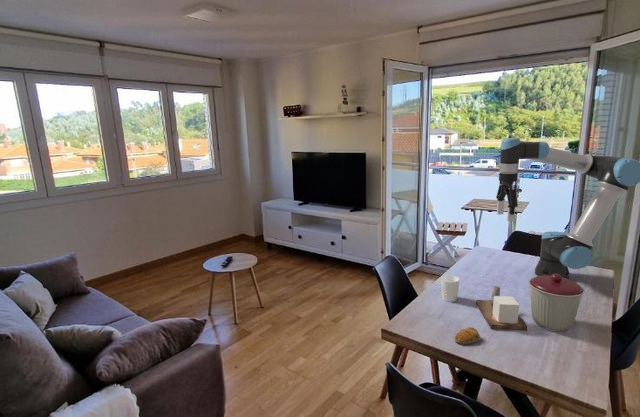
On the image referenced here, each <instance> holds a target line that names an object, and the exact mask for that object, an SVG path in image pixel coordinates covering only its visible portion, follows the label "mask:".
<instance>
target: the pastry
mask: <svg viewBox="0 0 640 417" xmlns="http://www.w3.org/2000/svg"><path fill="white" fill-rule="evenodd" d="M480 335H481V334H480V333H479V331H478V329H476V328H475V327H472V326H468V327H465V328H463V329H460V330H459V331H458V332H457V333H456V334H455V336H454V338H455V342H456V343H458V344H461V345H463V346H464V345H472V344H474V343H477V342H479V341H480V340H481V338H482V337H481V336H480Z"/></svg>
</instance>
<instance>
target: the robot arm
mask: <svg viewBox="0 0 640 417" xmlns="http://www.w3.org/2000/svg"><path fill="white" fill-rule="evenodd" d="M499 157H500V158H499V159H500V161H499V165H498V168H499V174H498V181H499V186H498V189H497V192H496V195H495V196H496V197H495V199H496V200H497V209H496V214H497V215H504V213H505V212H504V210H505V209H504V208H505V201H506V198H507V203H508V205H507V217H506V221H507V222H515V214H516V208H518V206H519V205H518V197H517V194H518V193H517V185H516V184H514V183H516V182H517V181H518V172H519V162H520V161H519V160H532V161H536V162H540V163H544V164H548V165H552V166H555V167H561V168H565V169H570V170H574V171H577V173H579V174H582V175H585V176H588V177H591V178H594V179H597V181H596V183H597V186H598V187H597V188H596V190H595V192H594V194H593V195H592V197H591V199H590V200H589V201H588V204H587V205H586V207H585V209H584V210H583V212H582V214H581V215H580V217H579V218H578V220H577V222H576V223H575V225H574V227H573V228H572V230H571V231H570V232H569V233H568V232H564V231H545V232H543V233H542V236H541V244H540V255H539V260H538V262H537V263H536V266H535V267H534V275H535V276H536V277H537V276H542V275H552V274H559V275H561V276H562V277H563V278H566V279H569V280H570V270H569V269H572V270H580V269H583V268H586V267H588V266H589V264H591V262H592V260H593V252H592V251H591V250H592V249H593V247H594V244H593V240H594V238H595V236H596V235H597V233H598V231H599V230H600V229H601V227H602V225H603V223H604V222H605V220H606V219H607V217H608V215H609V214H610V212H611V210H612V208H613V207H614V206H615V204H616V202H617V200H618V199H619V198H620V195H621V194H624V193H626V192H628V190H629V189H630V188H631V187H633V186H635V185H638V184H640V161H639V160H637V159H634V158H630V157H619V156H610V155H609V156H608V155H607V156H606V155H594V154H590V153H586V154H580V153H576V152H571V151H568V150H567V151H566V150H561V149H558V148H553V147H550V145H549V143H548V142H547V141H524V140H521V138H520V137H516V138H515V137H511V138H509V137H508V138H503V139H502V140H501V144H500V156H499Z"/></svg>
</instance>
